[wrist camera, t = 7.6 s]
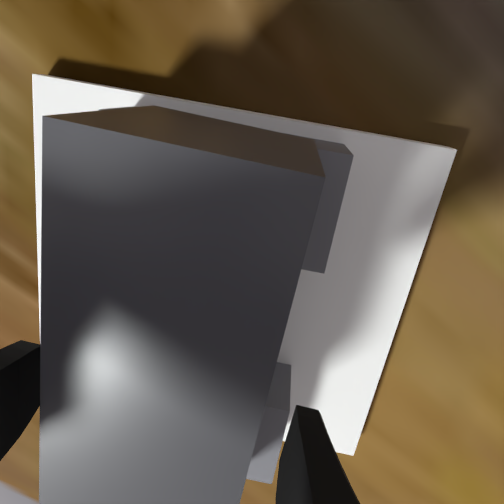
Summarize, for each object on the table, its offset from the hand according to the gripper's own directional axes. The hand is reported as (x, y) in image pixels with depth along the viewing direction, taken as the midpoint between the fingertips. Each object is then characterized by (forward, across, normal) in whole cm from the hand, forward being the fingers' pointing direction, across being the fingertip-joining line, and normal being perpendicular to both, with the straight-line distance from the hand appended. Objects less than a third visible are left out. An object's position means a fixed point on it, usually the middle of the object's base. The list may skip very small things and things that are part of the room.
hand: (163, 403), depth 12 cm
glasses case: (+4, 0, 0) cm, 4 cm away
